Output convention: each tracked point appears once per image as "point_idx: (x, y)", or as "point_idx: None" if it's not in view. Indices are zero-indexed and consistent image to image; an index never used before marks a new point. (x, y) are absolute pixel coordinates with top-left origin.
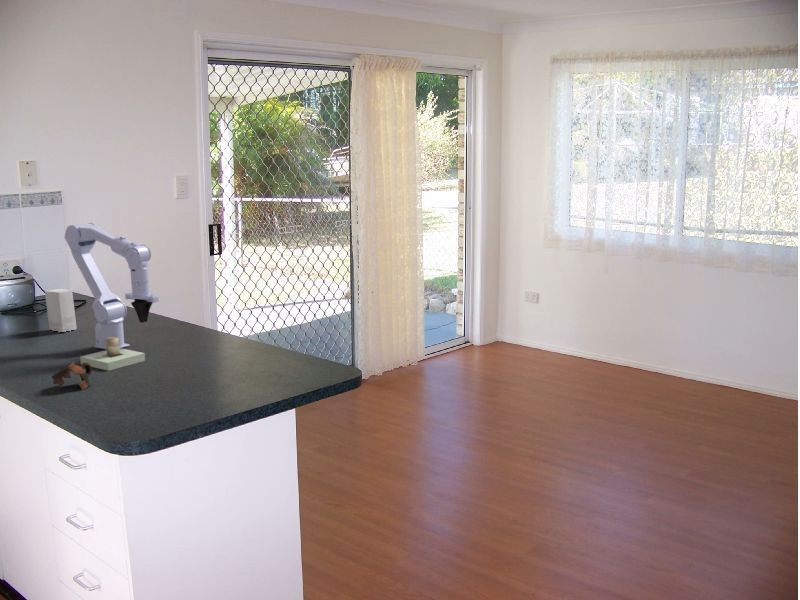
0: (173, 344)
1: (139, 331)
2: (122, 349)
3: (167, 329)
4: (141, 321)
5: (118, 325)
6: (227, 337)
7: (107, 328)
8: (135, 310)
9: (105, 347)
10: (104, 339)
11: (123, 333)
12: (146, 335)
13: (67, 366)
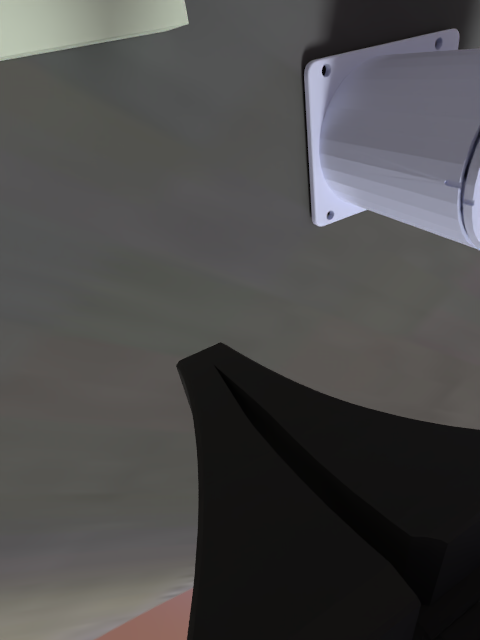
0: (178, 419)
1: (462, 340)
2: (65, 13)
3: None
4: (190, 361)
5: (442, 182)
6: (135, 603)
7: (477, 72)
8: (347, 403)
9: (371, 58)
10: (421, 54)
11: (393, 218)
12: (403, 349)
13: None
